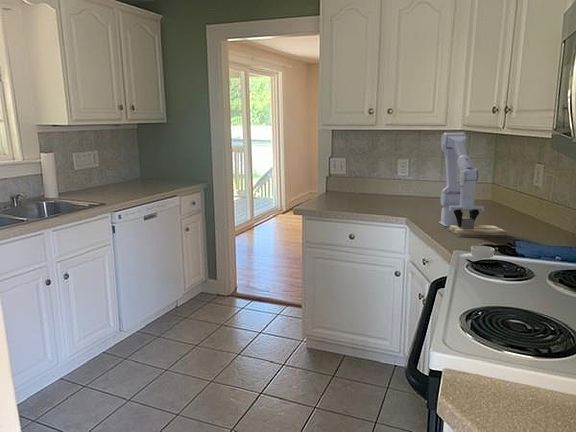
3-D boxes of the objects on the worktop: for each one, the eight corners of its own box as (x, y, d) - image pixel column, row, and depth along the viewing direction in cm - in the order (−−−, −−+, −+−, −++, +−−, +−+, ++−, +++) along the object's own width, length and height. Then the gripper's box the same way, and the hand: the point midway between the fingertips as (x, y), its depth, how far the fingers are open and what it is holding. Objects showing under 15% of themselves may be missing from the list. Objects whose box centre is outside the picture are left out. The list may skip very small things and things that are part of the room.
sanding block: (456, 226, 197) (457, 216, 196) (466, 226, 197) (467, 216, 196) (463, 230, 189) (464, 219, 188) (473, 230, 189) (474, 220, 188)
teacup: (503, 265, 145) (505, 251, 144) (475, 266, 144) (476, 252, 143) (487, 257, 154) (488, 244, 154) (460, 257, 153) (461, 244, 152)
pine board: (444, 228, 202) (444, 224, 202) (494, 228, 202) (494, 224, 202) (458, 236, 185) (458, 232, 184) (513, 237, 184) (513, 232, 184)
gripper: (454, 197, 187) (451, 228, 189) (488, 197, 187) (485, 228, 189) (448, 195, 194) (446, 225, 196) (481, 195, 194) (478, 225, 196)
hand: (465, 226), depth 193 cm, fingers closed on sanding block, 4 cm apart
